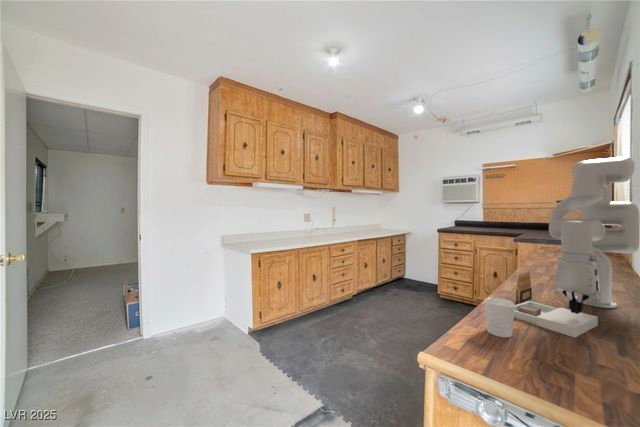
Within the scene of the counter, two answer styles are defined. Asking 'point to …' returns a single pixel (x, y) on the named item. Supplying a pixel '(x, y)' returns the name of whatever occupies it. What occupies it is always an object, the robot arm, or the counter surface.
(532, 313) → the walnut tile
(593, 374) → the counter surface
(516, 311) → the box
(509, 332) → the white cup
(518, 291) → the ammunition clip
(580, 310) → the robot arm
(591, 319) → the platform
